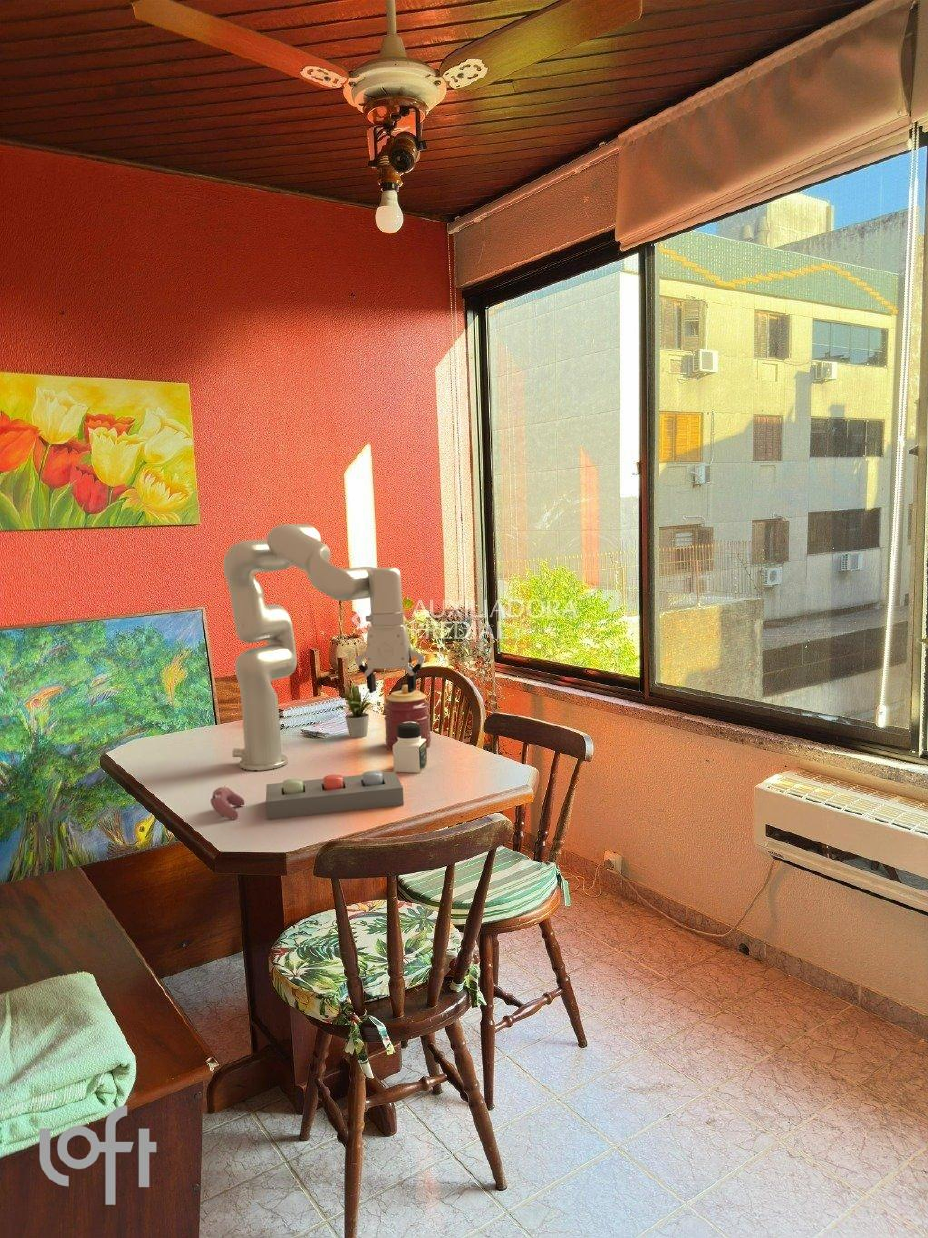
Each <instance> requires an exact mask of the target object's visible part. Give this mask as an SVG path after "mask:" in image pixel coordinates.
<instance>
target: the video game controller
mask: <svg viewBox="0 0 928 1238" xmlns="http://www.w3.org/2000/svg"><path fill="white" fill-rule="evenodd" d="M210 805H211V806H212V808H213V810H214V811H215V812H216V813H219V814H220V815H221V817H224V818H226V819H229V820H233V819H232V818H236V819H238V817H239V814H238V811H237V810H236V809H235V808H234V807H238V806H241V805H243V806H245V800H244V798H243V797H242V796H241V795H239V794H238V793H236V792H234V790H232V789H230V788H229V787H227V786H226V785H224V786H221V787H218V788H216V789H215V790H214V791H213V792H212V798H210ZM231 805H232V806H231ZM233 806H234V807H233Z"/></svg>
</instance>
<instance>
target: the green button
mask: <svg viewBox="0 0 928 1238" xmlns="http://www.w3.org/2000/svg"><path fill="white" fill-rule="evenodd" d="M303 781H304V780H303V779H302V778H289V779H285V780H284V781H282V783H283V791H284V794H294V793H304V792H303Z"/></svg>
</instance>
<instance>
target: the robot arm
mask: <svg viewBox="0 0 928 1238" xmlns="http://www.w3.org/2000/svg"><path fill="white" fill-rule="evenodd" d="M331 556H332V555H331V550H330V547H329V546H328V545H327V544H326V543H324V542H322V537H321V534H320V532H319V530H318V529H317V528H316V527H314V526H313V525H311V524H308V523H287V524H286V523H284V524H279V525H276V526H274V527H273V528H272V529H271V530H270V531H269V533H268V534H267V537H266V539H250V540H243V541H239V542H237V543H234V544H233V545H231V546H230V547H229V548H228V549H227V551H226V552H225V554H224V557H223V564H222V565H223V573H224V574H223V575H224V577H225V582H226V584H227V587H228V590H229V596H230V603H231V609H232V616H233V624H234V629H235V634H236V636H237V638H238V639H239V640H240V641H241V642H242V643H246V644H255V643H260V642H264V641H265V642H266V643H267V645H262V646H257V647H252V648H249V649H245V650H244V651H242V652H240V654H239V655H238V656H237V657H236V659H235V663H234V670H235V672H234V673H235V675H236V679H237V682H238V687H239V692H240V701H241V703H240V704H241V713H242V728H243V731H242V732H243V743H244V744H243V745H244V748H239V747H238V748H233V749H232V757H233V758H241V760H240V761H239V767H240V769H242V768H243V769H242V770H245V769H246V771H254V770H257V771H267V770H273V768H274V769H277V768H282V767H283V766H286V764H287V763H288V761H289V758H288V756H287V755H285V754H282V740H281V739H282V738H281V737H282V736H281V727H280V726H281V724H280V723H281V722H280V710H279V709H280V707H279V699H278V698H279V697H278V694H277V691H275V688H274V687H273V686H272V683H271V682H272V681H276V680H280V679H283V678H288V677H290V676H292V675H293V673H294V672H295V671H296V668H297V665H298V655H297V647H296V641H295V634H294V626H293V623H292V622H293V621H292V618H291V616H290V613H289V612H288V611H287V609H286V608H285V607H283V606H282V605H280V604H275V603H270V604H266V601H265V596H264V590H263V587H262V585H261V583H260V582H259V580H258V578H256V577H255V576H254V574H256V573H257V574H258V573H268V572H278V571H284V570H287V569H289V568H291V567H295V568H297V569H299V570H301V571H302V572H304V573H305V574H306V576H307V579H308V580H309V582H310V583H311V585H312V586H313V587H314V588H315V589H316V590H318V591H319V592H321V594H324V595H326V596H327V597H330V598H332V599H334V600H336V601H340V602H349V601H356V600H361V599H363V600H364V599H369V601H370V602H369V603H370V604H369V605H370V614H369V615H366V616H365V621H366V622H369V623H370V626H369V627H368V628H367V636H366V651H364V652H362V653H361V654H359V655H358V656H356V657H355V658H354V661H355V663H356V665H357V667H358V669H359V670H360V671H361V672H362V673H363V674H364V677H366V685H367V686H366V688H367V689H368V691H369V692H368V694H373V693H375V692H376V691H377V680H376V679H377V678H376V674H374V673H375V671H376V670H400V669H401V670H402V669H404V671H405V672H406V673H407V674H408V675H407V677H406V681H407V682H406V683H407V684H406V685H408V692H409V693H412V692H413V691H414V690H416V689H417V679H416V678H417V676H416V675H417V673H418V672H419V671H420V670H421V668H423V665H424V662H425V661H426V659H427V658H426V656H425V654H422V653H420V652H418V651H417V650H414V649H412V646H411V645H412V644H411V639H410V634H409V630H408V627H407V625H406V624H404V609H403V605H404V604H403V591H402V576H401V575H402V574H401V571H400V569H399V568H397V567H392V566H391V567H372V566H361V567H360V566H359V567H350V568H340V567H338V566H337V565H334V564H332V563H330V560H331ZM413 658H414V659H416V660H417V663H416V664H415V666H414V665H413V664H412V662H413ZM364 659H366V664H365V662H364ZM282 765H283V766H282Z"/></svg>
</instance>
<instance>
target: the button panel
mask: <svg viewBox="0 0 928 1238" xmlns="http://www.w3.org/2000/svg"><path fill="white" fill-rule="evenodd" d="M382 780H383V784H382V785H372V786H364V785H363V774H357V775H348V776H347V775H346V776H343V789H333V790H324V781H323V778H317V779H308V780H306V779H305V780H303V792H304V793H294V794H284V791H283V782H277V783H269V784H266V785H265V786H266V790H265V793H266V794H265V807H266V820H267V819H269V820H275V819H274V818H278V819H284V818H283V817H287V818H293V817H292V816H296V817H302V816H301V815H306V816H314V815H313V814H315V815H323V814H331V813H341V812H350V811H351V812H352V811H359V810H367V809H368V810H369V809H380V808H388V807H396V806H404V805H405V801H404V787H403V785H402V783H401V781H400V779H399V776H398V775H397V772H394V771H389V772H382Z"/></svg>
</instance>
